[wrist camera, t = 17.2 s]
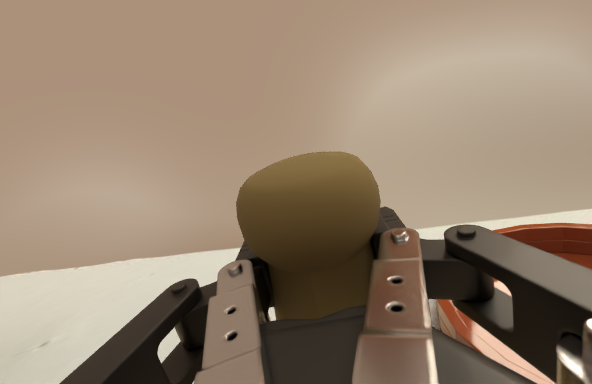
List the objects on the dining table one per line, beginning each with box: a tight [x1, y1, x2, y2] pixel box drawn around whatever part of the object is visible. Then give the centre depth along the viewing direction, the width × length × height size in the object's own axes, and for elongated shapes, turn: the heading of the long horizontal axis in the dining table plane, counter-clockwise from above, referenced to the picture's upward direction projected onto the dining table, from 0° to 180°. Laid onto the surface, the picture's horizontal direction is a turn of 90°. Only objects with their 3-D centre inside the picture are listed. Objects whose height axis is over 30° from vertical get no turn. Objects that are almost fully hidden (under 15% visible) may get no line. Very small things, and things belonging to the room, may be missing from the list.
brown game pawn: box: [236, 152, 380, 320], centre depth 12 cm, size 6×6×11 cm
